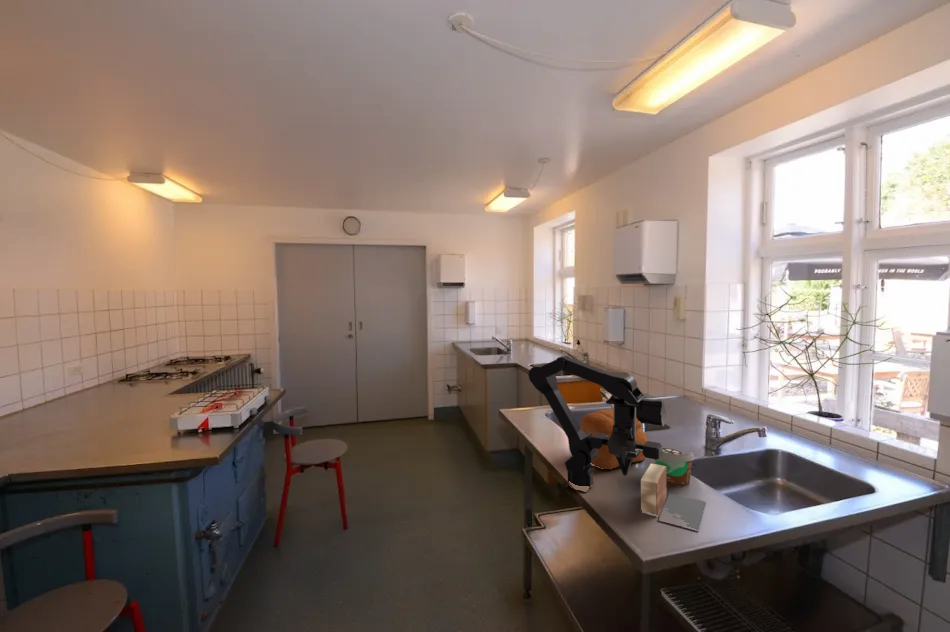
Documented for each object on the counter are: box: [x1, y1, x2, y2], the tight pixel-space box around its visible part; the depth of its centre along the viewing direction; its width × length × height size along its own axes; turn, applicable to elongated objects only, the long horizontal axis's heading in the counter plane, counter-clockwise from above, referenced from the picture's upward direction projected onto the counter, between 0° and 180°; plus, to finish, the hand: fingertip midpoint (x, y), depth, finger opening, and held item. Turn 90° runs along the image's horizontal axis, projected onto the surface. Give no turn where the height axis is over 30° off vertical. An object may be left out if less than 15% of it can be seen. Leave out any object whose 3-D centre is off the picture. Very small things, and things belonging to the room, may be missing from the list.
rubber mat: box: [663, 493, 707, 531], centre depth 109 cm, size 9×16×1 cm, turn 145°
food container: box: [653, 447, 695, 487], centre depth 125 cm, size 12×6×10 cm, turn 45°
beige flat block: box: [640, 463, 667, 516], centre depth 113 cm, size 4×12×9 cm, turn 145°
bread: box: [580, 407, 649, 470], centre depth 144 cm, size 18×21×17 cm
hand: (625, 475), depth 117 cm, fingers closed
